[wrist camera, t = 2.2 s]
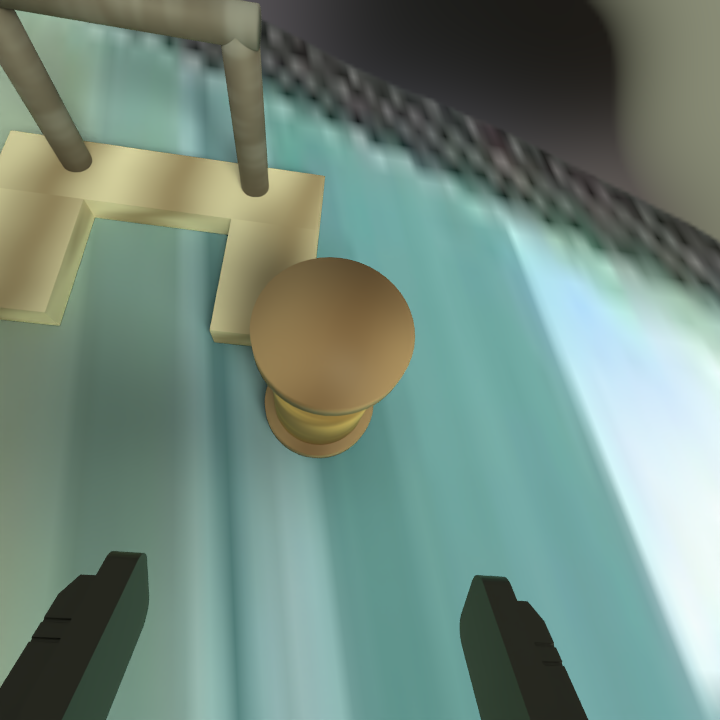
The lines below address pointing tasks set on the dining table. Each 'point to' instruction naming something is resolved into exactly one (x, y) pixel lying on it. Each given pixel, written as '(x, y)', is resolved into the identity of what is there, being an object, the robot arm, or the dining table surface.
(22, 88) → the u-shaped handle base
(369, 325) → the wooden knob
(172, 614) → the dining table surface
